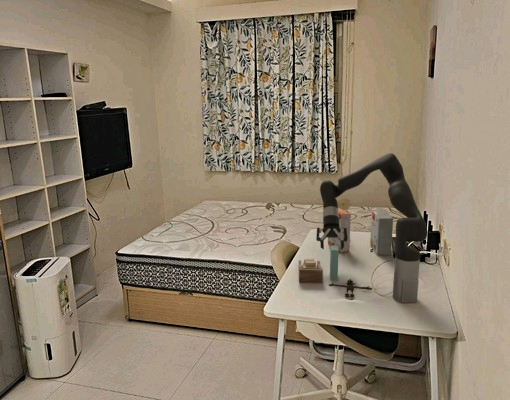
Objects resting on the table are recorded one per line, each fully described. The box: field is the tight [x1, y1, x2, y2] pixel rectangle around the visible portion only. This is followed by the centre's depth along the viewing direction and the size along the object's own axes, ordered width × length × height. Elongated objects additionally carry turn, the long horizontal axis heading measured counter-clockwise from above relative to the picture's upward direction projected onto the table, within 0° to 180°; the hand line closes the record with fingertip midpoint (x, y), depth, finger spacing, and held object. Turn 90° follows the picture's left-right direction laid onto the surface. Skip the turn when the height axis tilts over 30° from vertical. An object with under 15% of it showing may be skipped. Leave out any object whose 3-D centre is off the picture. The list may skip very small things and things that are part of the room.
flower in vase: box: [337, 196, 352, 213], centre depth 241 cm, size 13×11×25 cm
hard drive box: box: [369, 209, 394, 256], centre depth 224 cm, size 16×8×20 cm, turn 178°
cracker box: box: [327, 208, 352, 254], centre depth 228 cm, size 14×6×21 cm, turn 17°
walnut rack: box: [298, 259, 324, 284], centre depth 193 cm, size 20×10×7 cm, turn 175°
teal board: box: [329, 246, 340, 282], centre depth 188 cm, size 6×3×15 cm, turn 174°
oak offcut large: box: [302, 261, 317, 269], centre depth 198 cm, size 7×6×2 cm
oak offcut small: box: [303, 258, 317, 267], centre depth 198 cm, size 5×4×2 cm
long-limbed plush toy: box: [328, 278, 373, 301], centre depth 177 cm, size 18×4×14 cm
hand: (332, 248), depth 196 cm, fingers open, 8 cm apart
